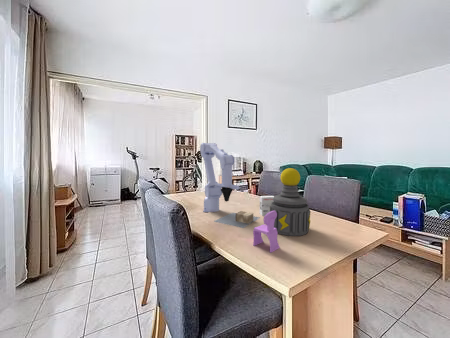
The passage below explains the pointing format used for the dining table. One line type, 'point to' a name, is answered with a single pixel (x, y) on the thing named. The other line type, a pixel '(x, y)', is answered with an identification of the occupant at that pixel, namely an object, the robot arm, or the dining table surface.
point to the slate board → (234, 220)
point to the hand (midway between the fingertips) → (226, 201)
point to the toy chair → (267, 231)
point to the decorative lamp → (291, 207)
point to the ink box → (265, 204)
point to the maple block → (244, 217)
